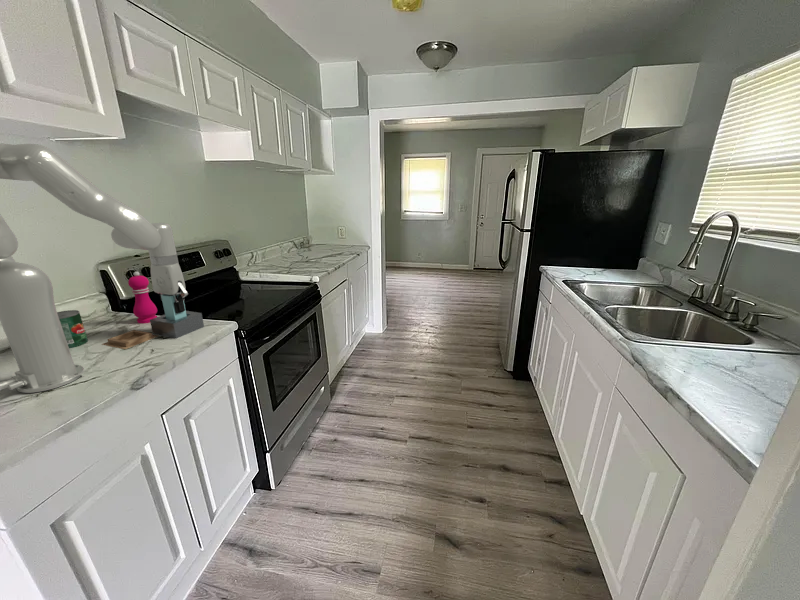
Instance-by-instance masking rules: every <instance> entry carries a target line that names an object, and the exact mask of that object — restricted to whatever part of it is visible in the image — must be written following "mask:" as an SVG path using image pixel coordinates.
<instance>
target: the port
mask: <svg viewBox="0 0 800 600" xmlns="http://www.w3.org/2000/svg"><path fill="white" fill-rule="evenodd" d="M186 315H187V316H186V317H183V318H180V319H178V320H175V321H174V320H168V319H166V316H165V314H162V315H159V316H157V317H156V318H153V319H150V323H149V324H150V328H151V331H152V335H157V336H162V337H166V338H171V339H178V338H179V339H180V338H181V337H183V336H186V335H188V334H191V333H193V332H196V331H197V330H200V329H203V328H205V324H204V320H203V313H202V312H197V311H189V310H186Z"/></svg>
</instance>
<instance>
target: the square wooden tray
mask: <svg viewBox="0 0 800 600" xmlns="http://www.w3.org/2000/svg"><path fill="white" fill-rule="evenodd" d="M158 337H159V335H155V334H153V332H147V331H142V330H137V329H133V330H130V331H127V332H124V333H121V334H119V335H116V336H113V337H112V336H111V337H110V338H107V340H106V341H107V342H103V343H102V344H101V345H102V346H108V347H113V348H117V349H121V350H127V349H129V348H133V347H135V346H138V345H140V344H142V343H145V342H147V341H150V340H153V339H155V338H158Z"/></svg>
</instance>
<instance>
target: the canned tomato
mask: <svg viewBox="0 0 800 600" xmlns="http://www.w3.org/2000/svg"><path fill="white" fill-rule="evenodd" d="M57 314H58V317H59V320H60V323H61V326H62V329H63V332H64V335H65V338H66V341H67V344H68V347H69V349H73V348H77V347H80V346H83V345H85V344H87V343H88V341H89V340H88V335H87V333H86V330H85V326H84V323H83V319H82V316H81V313H80V310H76V309H70V310H63V311H57Z"/></svg>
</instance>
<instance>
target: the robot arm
mask: <svg viewBox="0 0 800 600" xmlns="http://www.w3.org/2000/svg"><path fill="white" fill-rule="evenodd" d="M0 179H2V180H10V181H11V180H13V181H26V182H33V183H34V184H36V185H38V186H39V188H42V189H43V190H45V191H46V192H47V193H49V194H50V195H51V196H53V197H54V198H55V199H57V200H58V201H59V202H61V203H63V204H64V205H65V206H67V208H69V209H71V210H72V211H73V212H75V213H77V214H80V215H82V216H84V217H87V218H91V219H93V220H95V221H98V222H101V223H104V224H106V225H108V226H110V227H112V228H113V229H112V231H111V233H110V235H111V239H112V241H113V242H114V243H115V244H116V245H118V246H119V247H122V248H126V249H131V250H141V251H143V250H144V251H148V254H149V261H150V277H151V283H152V290H153V292H154V293H155V294H158V297H160V300H161V301H162V298H161V295H164V294H167V295H172V296H173V298H174V301H175V302H174V307H175V312H176V313H181V312H184V311H185V310H186V306H185V307H184V304H185V298H186V297H187V296H188V295H189V293H188V291H187V290H186V283H185V279H184V278H185V277H184V275H183V272H182V269H181V266H180V264H179V258H178V254H177V253H178V252H177V249H176V244H175V243H176V242H175V239H174V238H175V237H174V233H173V229H172V226H171V225H170V224H169V223H165V222H152V223H151V222H150V221H149V220H148V219H147V218H145V217H144V216H143V215H141V214H140V213H139V212H138V211H136V210H135V209H133V208H132V207H130V206H129V205H126V204H125V203H123V202H121V201H119V200H118V199H116V198H115V197H113V196H112V195H109V194H107V193H106V192H104V191H103V190H101V188H99V187H98V186H96V185H95V184H93V183H92V182H91V181H90V180H89V179H88V178H86V177H85V176H84V175H83V174H82V173H80V172H79V171H78V170H77V169H76V168H75V167H73V166H72V165H71V164H70V163H68V162H67V160H65V159H63V157H61V156H60V155H59V154H57V152H54V150H52V149H51V148H49V147H47V146H44V145H42V144H36V143H20V144H11V143H2V142H0ZM18 247H19V241H18V238H17V236H16V235H15V233H14V231H13V230H12V229H11V227H10V226H9V224H8V223H7V221H6V220H5V219H4V218H3V216H2V214H1V213H0V325H1V327H2V330H3V332H4V334H5V337H6V338H7V342H8V344H9V346H10V349H11V351H12V354H13V356H14V360H15V362H16V364H17V367H18V369H19V370H16V371H14V376H11V378H10V379H7V380H2V381H0V391H1V392H2V391H4V390H6V389H8V390H10V391H12V390H15V389H16V390H17V392H20V393H24V394H25V393H26V394H30V393H31V394H32V393H39V392H45V391H46V392H47V391H49V390H54V389H57V388H60V387H63V386H65V385H68V384H70V383H72V382H74V381H76V380H78V379H79V378H81V377H82V375H83V374H85V373H84V372H85V368H84V366H82V365H80V364H75V362H74V359H73V356H72V353H71V351H70V348H69V347H68V344H67V341H66V338H65V335H64V332H63V329H62V326H61V323H60V320H59V317H58V314H57V312H58V310H57V308H56V304H55V299H54V297H55V296H54V289H53V284H52V281H51V279H50V277H49V276H48V274H46V272H45V271H43V270H42V269H40V268H39V267H36V266H34V265H32V264H29V263H23V262H17V261H16V260H15V259H14V257H13V255H14V254H16V252H17V251H18ZM177 292H178V293H177ZM178 294H179V296H178V297H177V295H178ZM183 301H184V302H183Z"/></svg>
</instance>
